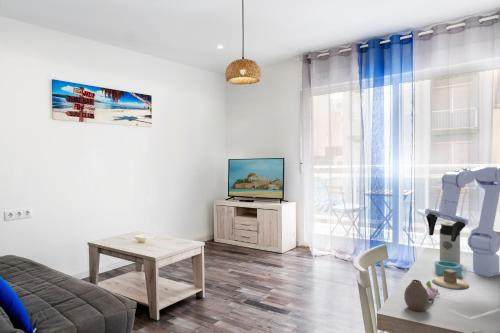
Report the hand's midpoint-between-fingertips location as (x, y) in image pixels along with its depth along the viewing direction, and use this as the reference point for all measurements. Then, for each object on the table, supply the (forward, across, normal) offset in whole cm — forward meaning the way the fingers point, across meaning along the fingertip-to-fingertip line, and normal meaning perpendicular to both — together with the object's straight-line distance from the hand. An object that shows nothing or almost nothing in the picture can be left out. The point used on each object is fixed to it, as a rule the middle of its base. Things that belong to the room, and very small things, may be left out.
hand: (441, 238), depth 127 cm
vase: (+26, -9, -18) cm, 33 cm away
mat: (+16, +8, +5) cm, 18 cm away
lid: (+15, +8, +5) cm, 17 cm away
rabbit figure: (+22, -4, -9) cm, 24 cm away
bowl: (+12, +11, +17) cm, 23 cm away
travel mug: (+6, +18, +35) cm, 39 cm away
